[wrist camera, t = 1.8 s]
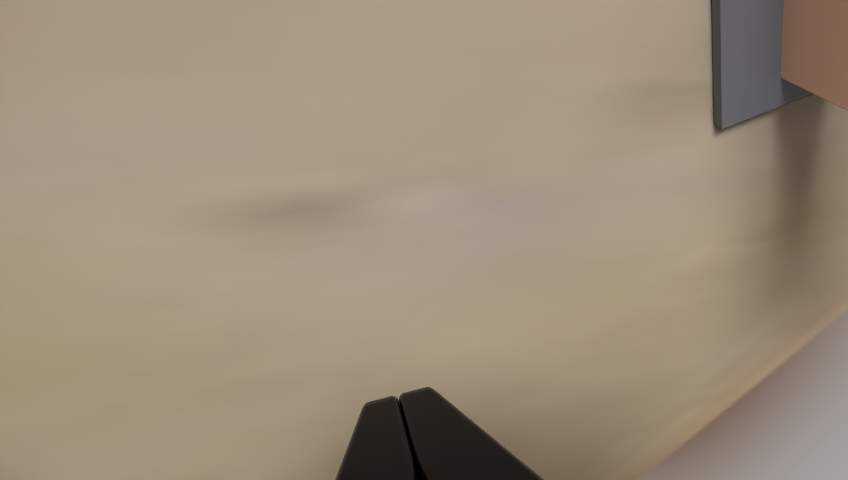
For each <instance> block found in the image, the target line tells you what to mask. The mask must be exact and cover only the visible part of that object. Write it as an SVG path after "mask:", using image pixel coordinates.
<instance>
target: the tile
mask: <svg viewBox="0 0 848 480" xmlns="http://www.w3.org/2000/svg"><path fill="white" fill-rule="evenodd" d="M781 78H783V79H785V80H787V81H789V82H791V83H793V84H795V85H797V86H799V87H801V88H803V89H805V90H807V91H809V92H811V93H813V94H815V95H817V96H819V97H821V98H823V99H825V100H827V101H829V102H831V103H833V104H835V105H838V106H840V107H842V108H844V109H846V110H848V0H784V6H783V30H782V55H781Z"/></svg>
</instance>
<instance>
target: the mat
mask: <svg viewBox="0 0 848 480" xmlns="http://www.w3.org/2000/svg"><path fill="white" fill-rule="evenodd" d="M783 6H784V0H712V36H713V88H714V124H715V125H716V126H718V127H719V128H721V129H724V128H726V127H729V126H731V125H734V124H737V123H739V122H742V121H744V120H747V119H749V118H752V117H755V116H757V115H760V114H762V113H765V112H768V111H770V110H773V109H775V108H778V107H780V106H783V105H786V104H788V103H791V102H793V101H796V100H799V99H801V98H804V97H806V96H809V95H811V94H813V93H811V92H809V91H807V90H805V89H803V88H801V87H799V86H797V85H795V84H793V83H791V82H789V81H787V80H785V79H783V78H781V55H782V30H783Z"/></svg>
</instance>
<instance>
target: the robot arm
mask: <svg viewBox="0 0 848 480" xmlns="http://www.w3.org/2000/svg"><path fill="white" fill-rule="evenodd" d="M335 480H543V479H542V478H541V477H540V476H538V475H537V474H536V473H535V472H533V471H532V470H531V469H530V468H529V467H527V466H526V465H525V464H524V463H523V462H521V461H520V460H519V459H518V458H516V457H515V456H514V455H513V454H512V453H510V452H509V451H508V450H507V449H506V448H504V447H503V446H502V445H501V444H499V443H498V442H497V441H496V440H495V439H493V438H492V437H491V436H490V435H489V434H487V433H486V432H485V431H484V430H482V429H481V428H480V427H479V426H478V425H476V424H475V423H474V422H473V421H472V420H470V419H469V418H468V417H467V416H465V415H464V414H463V413H462V412H461V411H459V410H458V409H457V408H456V407H454V406H453V405H452V404H451V403H450V402H448V401H447V400H446V399H445V398H444V397H442V396H441V395H440V394H439V393H437V392H436V391H435V390H434V389H432V388H430V387H425V388H421V389H417V390H413V391H410V392H406V393H403V394H401V395H400V397H399V401H398V399H397V398H396V397H394V396H390V397H386V398H383V399H379V400H375V401H371V402H368V403H366V404H365V405H364V406H363V408H362V411H361V413H360V416H359V418H358V421H357V424H356V426H355V429H354V432H353V434H352V437H351V440H350V442H349V445H348V448H347V450H346V453H345V456H344V458H343V461H342V464H341V466H340V469H339V472H338V474H337V477H336V479H335Z"/></svg>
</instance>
